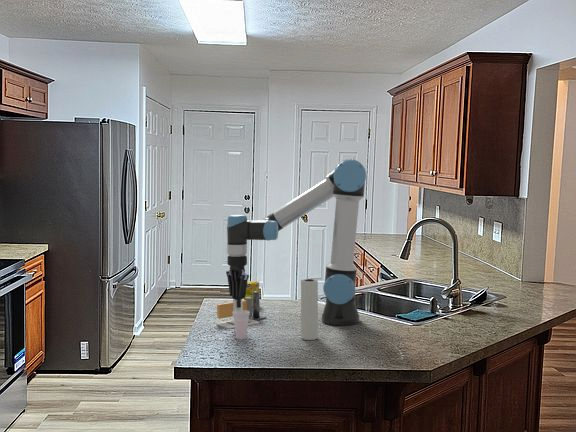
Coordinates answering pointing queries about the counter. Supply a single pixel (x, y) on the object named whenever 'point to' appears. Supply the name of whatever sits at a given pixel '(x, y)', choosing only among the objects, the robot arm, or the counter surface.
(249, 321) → the label tile
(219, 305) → the orange rectangular slab
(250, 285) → the supplement box
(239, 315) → the smoothie
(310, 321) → the paper towel roll
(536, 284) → the counter surface
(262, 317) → the pivot post
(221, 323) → the label tile
